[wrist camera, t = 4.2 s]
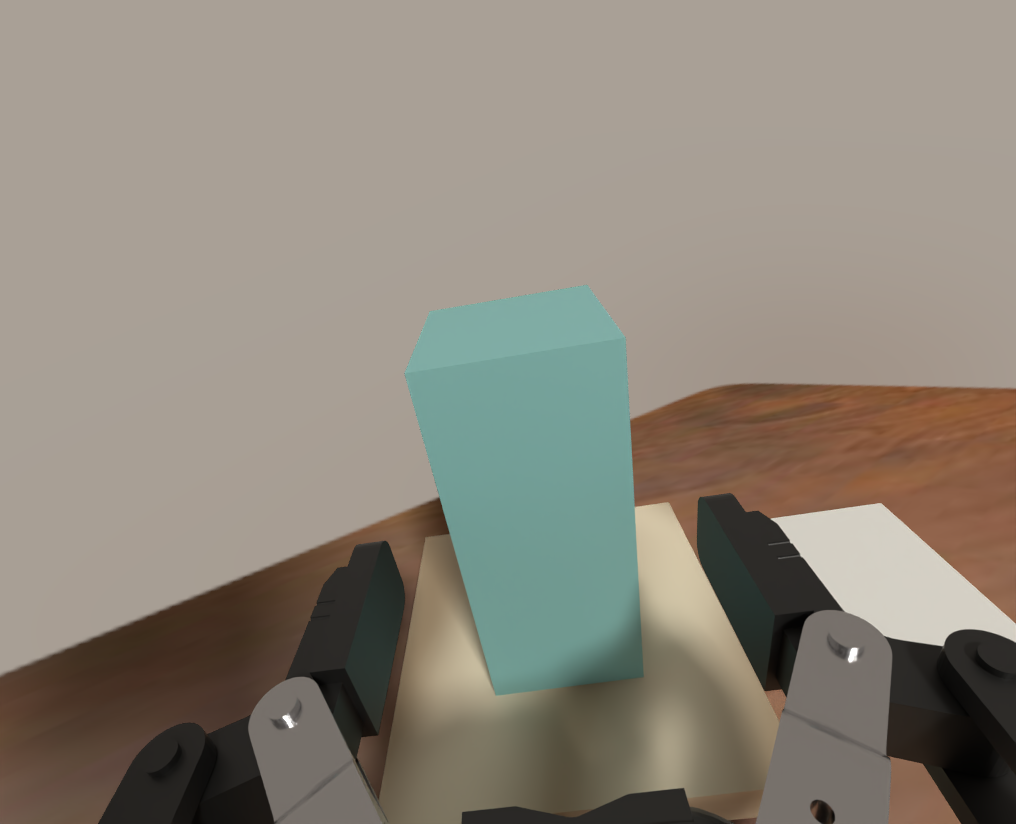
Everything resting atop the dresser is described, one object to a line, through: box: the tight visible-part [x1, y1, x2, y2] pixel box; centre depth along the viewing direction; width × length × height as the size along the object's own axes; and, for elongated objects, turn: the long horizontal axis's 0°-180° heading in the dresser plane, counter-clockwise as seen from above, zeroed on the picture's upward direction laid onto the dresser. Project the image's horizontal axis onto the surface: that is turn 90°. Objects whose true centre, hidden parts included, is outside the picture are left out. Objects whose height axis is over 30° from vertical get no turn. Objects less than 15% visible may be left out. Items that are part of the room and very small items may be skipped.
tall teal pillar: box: [405, 285, 644, 696], centre depth 16 cm, size 5×5×12 cm
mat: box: [771, 503, 1016, 646], centre depth 20 cm, size 8×8×1 cm
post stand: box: [379, 502, 780, 824], centre depth 18 cm, size 12×12×6 cm
